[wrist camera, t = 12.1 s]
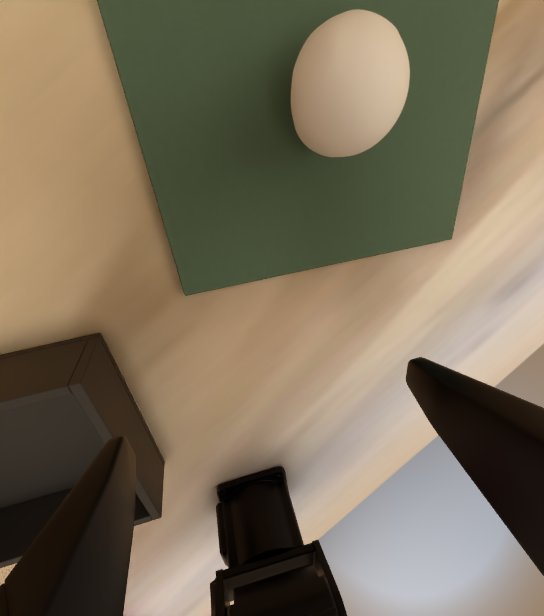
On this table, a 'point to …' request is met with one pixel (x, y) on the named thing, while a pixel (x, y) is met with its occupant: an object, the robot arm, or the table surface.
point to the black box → (64, 435)
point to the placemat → (291, 133)
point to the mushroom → (349, 83)
